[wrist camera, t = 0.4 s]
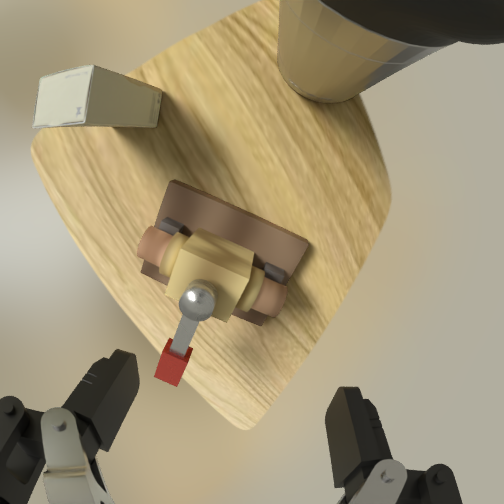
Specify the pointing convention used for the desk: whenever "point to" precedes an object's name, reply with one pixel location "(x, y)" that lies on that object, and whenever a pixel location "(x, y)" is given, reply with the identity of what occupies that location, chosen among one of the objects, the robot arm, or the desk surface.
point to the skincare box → (95, 100)
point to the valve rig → (220, 253)
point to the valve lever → (186, 329)
